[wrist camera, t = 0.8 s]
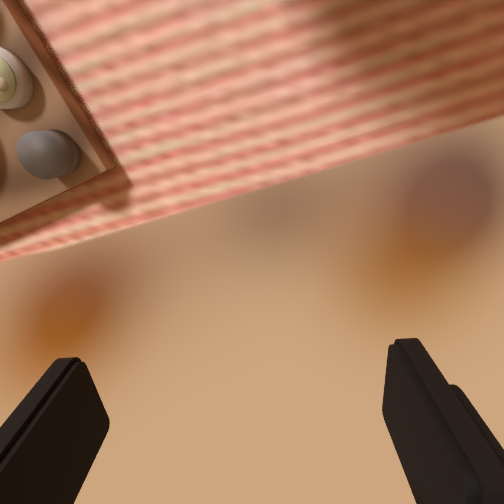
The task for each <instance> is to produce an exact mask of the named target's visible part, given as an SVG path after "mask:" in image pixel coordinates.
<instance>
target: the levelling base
mask: <svg viewBox="0 0 504 504" xmlns="http://www.w3.org/2000/svg"><path fill="white" fill-rule="evenodd" d="M114 167H116V164H115V163H114V161H113V159H112V158H111V156H110V154H109V153H108V151H107V149H106V148H105V146H104V144H103V143H102V141H101V139H100V138H99V136H98V134H97V133H96V131H95V129H94V128H93V126H92V124H91V123H90V121H89V119H88V118H87V116H86V114H85V113H84V111H83V109H82V107H81V106H80V104H79V102H78V101H77V99H76V97H75V96H74V94H73V92H72V91H71V89H70V87H69V86H68V84H67V82H66V81H65V79H64V77H63V76H62V74H61V72H60V71H59V69H58V67H57V66H56V64H55V62H54V61H53V59H52V57H51V56H50V54H49V52H48V51H47V49H46V47H45V46H44V44H43V42H42V41H41V39H40V37H39V36H38V34H37V32H36V31H35V29H34V27H33V26H32V24H31V22H30V20H29V19H28V17H27V15H26V14H25V12H24V10H23V9H22V7H21V5H20V4H19V2H18V0H0V223H1V222H3V221H5V220H7V219H9V218H12V217H14V216H16V215H18V214H20V213H22V212H24V211H26V210H28V209H30V208H32V207H34V206H36V205H38V204H40V203H42V202H44V201H46V200H48V199H50V198H52V197H54V196H57V195H59V194H61V193H63V192H65V191H67V190H69V189H71V188H73V187H75V186H77V185H79V184H81V183H83V182H85V181H87V180H89V179H91V178H93V177H95V176H97V175H100V174H102V173H104V172H106V171H108V170H110V169H112V168H114Z"/></svg>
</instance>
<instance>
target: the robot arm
mask: <svg viewBox="0 0 504 504" xmlns="http://www.w3.org/2000/svg"><path fill="white" fill-rule="evenodd" d="M382 411H383V417H384V420H385V423H386V426H387V428H388V431H389V433H390V436H391V438H392V441H393V444H394V446H395V449H396V451H397V454H398V457H399V459H400V462H401V464H402V467H403V470H404V472H405V475H406V477H407V480H408V482H409V485H410V488H411V490H412V493H413V495H414V498H415V501H416V503H417V504H504V449H503V448H502V446H501V445H500V444H499V442H498V441H497V439H496V438H495V436H494V435H493V434H492V432H491V431H490V429H489V428H488V426H487V425H486V424H485V422H484V421H483V419H482V418H481V417H480V415H479V414H478V412H477V411H476V409H475V408H474V407H473V405H472V404H471V402H470V401H469V399H468V398H467V397H466V395H465V394H464V392H463V391H462V390H461V389H460V388H459V387H458V386H456V385H452V384H451V385H449V384H448V382H447V381H446V379H445V378H444V376H443V375H442V373H441V372H440V370H439V369H438V367H437V366H436V364H435V363H434V361H433V360H432V358H431V357H430V355H429V354H428V352H427V351H426V349H425V348H424V346H423V345H422V343H421V342H420V341H419V340H418V339H417V338H408V339H396V340H395V342H394V344H392V345H390V346H389V348H388V357H387V367H386V376H385V386H384V396H383V405H382ZM109 423H110V422H109V417H108V415H107V413H106V410H105V408H104V406H103V403H102V401H101V399H100V396H99V394H98V392H97V389H96V387H95V384H94V382H93V380H92V377H91V375H90V373H89V370H88V368H87V366H86V364H85V363H84V362H81V360H80V359H79V358H78V357H74V358H59V359H57V360H55V361H54V362H53V363H52V365H51V366H50V367H49V368H48V370H47V371H46V372H45V373H44V374H43V376H42V377H41V378H40V380H39V381H38V382H37V383H36V384H35V385H34V387H33V388H32V389H31V390H30V392H29V393H28V394H27V395H26V396H25V398H24V399H23V400H22V402H21V403H20V404H19V405H18V406H17V408H16V409H15V410H14V411H13V412H12V414H11V415H10V416H9V417H8V419H7V420H6V421H5V422H4V423H3V425H2V426H1V427H0V504H74V502H75V500H76V497H77V495H78V493H79V491H80V489H81V487H82V485H83V482H84V481H85V479H86V477H87V474H88V472H89V470H90V468H91V466H92V463H93V462H94V460H95V458H96V455H97V453H98V451H99V449H100V447H101V445H102V443H103V441H104V439H105V437H106V434H107V432H108V430H109Z"/></svg>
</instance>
